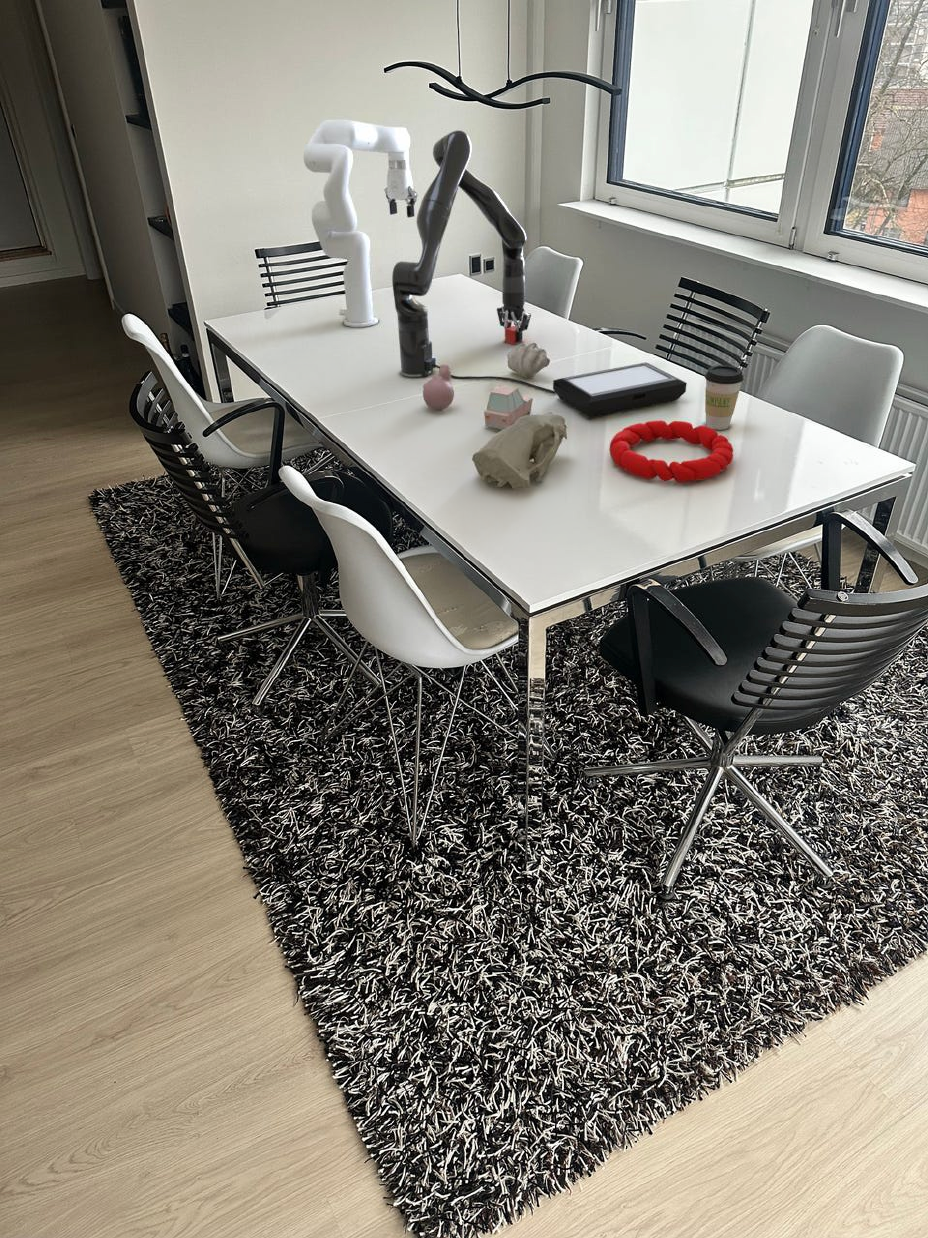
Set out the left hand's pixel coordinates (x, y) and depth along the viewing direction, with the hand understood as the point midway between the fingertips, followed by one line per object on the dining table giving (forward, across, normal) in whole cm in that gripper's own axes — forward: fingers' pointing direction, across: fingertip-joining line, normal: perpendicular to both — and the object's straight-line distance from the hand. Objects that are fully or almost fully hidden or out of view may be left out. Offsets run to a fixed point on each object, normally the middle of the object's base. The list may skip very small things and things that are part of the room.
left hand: (402, 215), depth 337 cm
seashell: (+30, +97, -37) cm, 108 cm away
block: (+30, +71, -15) cm, 78 cm away
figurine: (+30, +95, -74) cm, 124 cm away
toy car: (+30, +118, -69) cm, 140 cm away
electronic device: (+30, +130, -36) cm, 139 cm away
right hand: (+30, +71, -15) cm, 78 cm away
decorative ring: (+30, +164, -60) cm, 178 cm away
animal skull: (+30, +142, -89) cm, 171 cm away
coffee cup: (+30, +162, -34) cm, 168 cm away
